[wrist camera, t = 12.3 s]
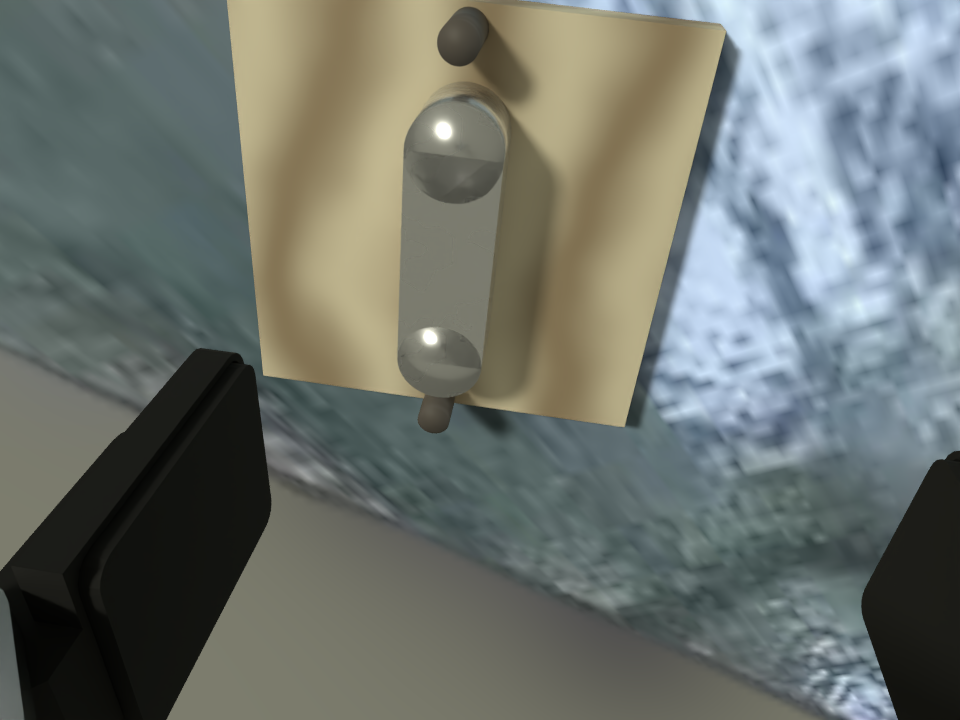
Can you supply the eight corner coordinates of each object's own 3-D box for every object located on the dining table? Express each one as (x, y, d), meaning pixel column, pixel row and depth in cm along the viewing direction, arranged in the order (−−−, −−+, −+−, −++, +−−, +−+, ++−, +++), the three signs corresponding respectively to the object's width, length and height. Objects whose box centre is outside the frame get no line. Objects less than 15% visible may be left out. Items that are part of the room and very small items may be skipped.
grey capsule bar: (516, 87, 31) (509, 111, 28) (485, 362, 39) (477, 402, 36) (421, 75, 31) (405, 98, 28) (410, 351, 39) (396, 391, 36)
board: (720, 23, 30) (739, 47, 26) (623, 410, 41) (626, 464, 38) (238, -33, 31) (191, -18, 27) (272, 360, 42) (242, 408, 39)
